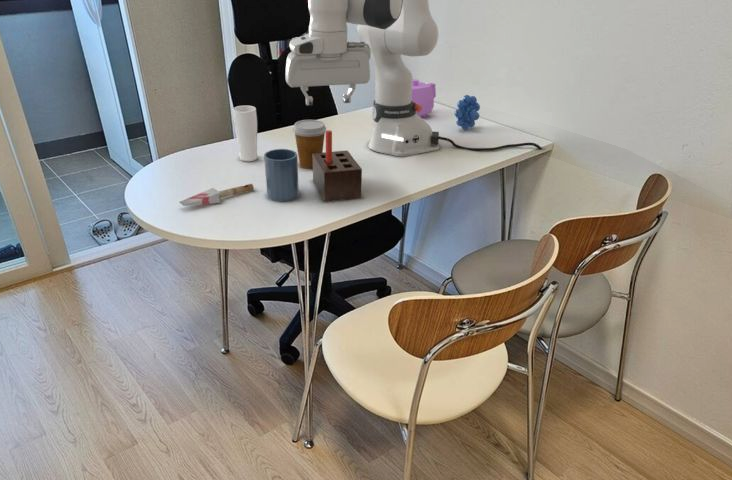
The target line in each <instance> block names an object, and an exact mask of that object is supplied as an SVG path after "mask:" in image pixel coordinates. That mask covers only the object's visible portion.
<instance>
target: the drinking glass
mask: <svg viewBox="0 0 732 480" xmlns="http://www.w3.org/2000/svg"><path fill="white" fill-rule="evenodd" d="M232 120H233V127H234V131H235V138H236V143H237V148H238V149H237V150H238V154H239V159H240V160H241V161H243V162H254V161H256V160H257V159H258V156H259V155H258V115H257V108H256V107H255V106H253V105H237V106H235V107H233V108H232Z"/></svg>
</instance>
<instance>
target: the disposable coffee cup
mask: <svg viewBox="0 0 732 480" xmlns="http://www.w3.org/2000/svg"><path fill="white" fill-rule="evenodd" d="M292 131H293V134H294V137H295V144H296V149H297V150H296V151H297V157H298V162H299V166H300V167H301V168H304V169H310V170H311V169H313V157H312V154H313V153H324V152H323V151H324V144H325V143H324V142H325V136H326V131H327V127H326V125H325V122H323V121H321V120H318V119H302V120H297V121H296V122H295V123H294V125H293V127H292Z"/></svg>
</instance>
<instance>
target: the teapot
mask: <svg viewBox="0 0 732 480" xmlns="http://www.w3.org/2000/svg"><path fill="white" fill-rule="evenodd" d="M436 89H437V88H436V83H434V82H429V83H425V82H422V81H419V79H417V78H413V83H412V97H411V101H413V102H414V103H416V104H419V105H420V106H421V107H422V110H420V111H421V112H417V111H416V114H417V115H418V116H420V117H421V118H428V115H427V114H431V113H432V112H433V109H434V107H435V101H434V100H435V99H436V96H437V92H436V91H437V90H436Z"/></svg>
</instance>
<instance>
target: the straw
mask: <svg viewBox="0 0 732 480" xmlns="http://www.w3.org/2000/svg"><path fill="white" fill-rule="evenodd" d="M325 152H326V164H327V163H332V152H333V130H331V129H329V130H327V129H326V131H325Z"/></svg>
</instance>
